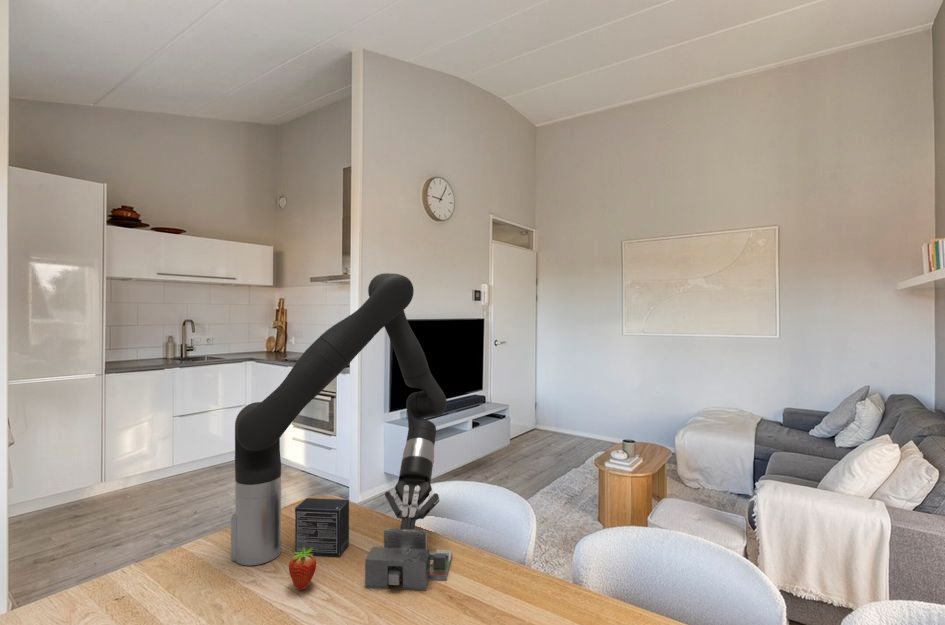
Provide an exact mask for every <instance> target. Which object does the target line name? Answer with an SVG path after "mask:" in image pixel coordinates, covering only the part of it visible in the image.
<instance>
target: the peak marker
mask: <svg viewBox="0 0 945 625" xmlns="http://www.w3.org/2000/svg"><path fill="white" fill-rule="evenodd" d="M445 567H446V554H434V568H435V569H445Z"/></svg>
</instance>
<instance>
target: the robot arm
mask: <svg viewBox="0 0 945 625" xmlns="http://www.w3.org/2000/svg"><path fill="white" fill-rule="evenodd" d="M414 290H415V289H414V284H413V283H412V280H410V279H409V278H408V277H407V276H405V275H403V274H399V273H389V272H387V273H386V272H385V273H380V274H377V275H375V276H374V277H373V278H372V279H371V280H370V282H369V284H368V288H367V294H368V298H367V300H365V302H364V303H363V304H362V305H361V306H359V308H358V309H357V310H355V311H354V312H353V313H351V314H350V315H348V316H346V317H345V318H344V319H342V320H340V321H338V322H337V323H335V324H333V325H332V326H331V327H330V328H328V329H326V330H325V332H323V333H322V334H321V335H319V337H318V338H317V339H315V340H314V341H313V342H312V343H311V345H310V346H309V347H307V348H306V350H305V351H304V352H303V353H302V354H301V356H299V358H298V359H297V361H296V362H295V364H294V365H293V366H292V368H291V369H290V370H289V371H288V374H287V375H286V377H285V378H284V380H283V381H282V382H281V383H280V384H279V386H277V387H276V389H275V390H273V391H272V392H271V393H270V394H269V395H268V396H267V397H266V398H264V399H263V400H262V401H256V402H252V403H250V404H247V405H245V406H244V407H243V408H241V410H240V411H239V413H238V414H237V416H236V417H235V422H234V473H235V474H234V478H235V480H234V481H235V482H234V483H235V484H234V486H235V487H234V488H235V490H234V491H235V492H234V499H235V500H234V502H235V505H234V506H235V507H234V509H235V511H234V514H233V515H232V516H231V518H230V561H231V562H236V563H237V564H239V565H242V566H257V565H258V566H259V565H262V564H265V563H268V562H271V561H273V560H275V559H276V558H278V557H279V556H280V555H281V551H282V461H281V460H282V459H281V443H280V442H281V440H280V439H281V437H282V436H283V435H284V433H285V432H286V431H287V429H288V428H289V427H290V425H291V424H292V423H293V422H294V420H295V419H296V418H297V416H299V414H300V413H301V412H302V411H303V409H305V407H306V406H307V405H308V404H309V403H311V402H312V401H313V400H314V399H315V398H316V397H317V396H318V395H319V394H320V393H321V392H322V391H324V389H325V388H326V387H327V386H329V384H331V382H333V381H334V380H335V379H336V378H337V377H338V376H339V375H340V374H341V373H342V372H343V370H345V369H346V368H347V366H349V365H350V363H352V361H353V360H354V359H355V358H356V357H357V356H358V354H360V352H361V351H362V350H363V349H364V348H365V347H366V346H367V345H368V344H369V343H370V342H371V340H372V339H374V337H375V336H376V335H377V334H378V333H379V332H380V331H381V330H382V329H383V328H385V331H386V334H387V335H388V338H389V341H390V342H391V346H392V348H393V351H394V354H395V357H396V359H397V361H398V362H397V363H398V366H399V368H400V372H401V375H402V377H403V380H404V383H405V385H406V386H407V387H409V388H413V389H420V391H414V392H412V393H410V394H409V395H408V397H407V399H406V405H405V408H406V414H407V424H408V425H407V426H408V427H407V428H408V430H407V436H406V443H405V447H404V449H403V453H402V459H401V464H400V471H399V476H398V481H397V483H396V484H395V486H394V489H392V490H390V491H388V490H387V491H386V492H385V493H384V496H385V499H386V501H387V503H388V504H389V506H390V507H391V509H392V512H393V513H394V515H395V516H396V518H397V519H401V521H400V528H399V529H410V530H415V529H416V528H415V527H416V522H417V520H424V519H425V518H426V516H428V514H429V513H431V511H432V510H433V509H434V508H435V507H436V506H437V505H438V503H439V502H440V496H439V494H438V493H436V492H434V491H433V488H432V485H431V483H432V475H433V466H434V461H435V459H434V458H435V444H436V435H437V427H436V425H435V424H434V422H433V421H431V420H428V419H425V418H435V417H439V416H441V415H443V414H444V413H445V412H446V410H447V406H448V403H447V397H446V395H445V393H444V391H443V389H442V388H441V387H440V385H439V384H438V382H437V381H436V379H435V378H434V376H433V374H432V373H431V370H430V367H429V364H428V361H427V358H426V354H425V352H424V350H423V347H422V346H421V344H420V342H419V340H418V338H417V337H416V335H415V333H414V332H413V330H412V328H411V326H410V324H409V321H408V319H407V315H406V313H405V309H406V308H407V307H408V306H409V305H410V303H411V302H412V300H413V299H414V298H413V297H414V294H415V293H414ZM397 497H398V498H399V500H400V501H401V503H402V509H400V507H399V505H397V502H396V500H397ZM426 500H427V501H426ZM425 501H426V502H425ZM424 502H425V503H424ZM423 503H424V504H423ZM421 505H422V506H421ZM420 507H421V508H420Z"/></svg>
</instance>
